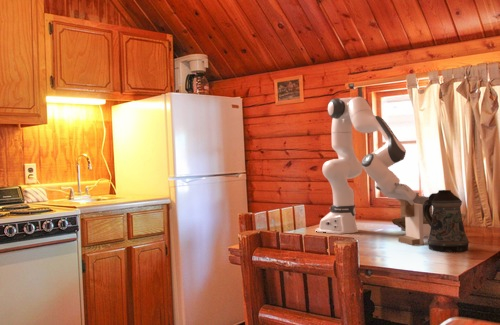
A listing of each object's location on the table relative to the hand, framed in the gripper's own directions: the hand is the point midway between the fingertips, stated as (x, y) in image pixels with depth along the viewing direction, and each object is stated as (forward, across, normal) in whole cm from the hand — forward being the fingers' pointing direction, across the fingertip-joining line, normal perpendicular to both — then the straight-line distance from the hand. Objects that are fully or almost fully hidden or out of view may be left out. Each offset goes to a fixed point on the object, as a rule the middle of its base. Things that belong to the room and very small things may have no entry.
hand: (408, 203), depth 229 cm
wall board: (+13, 0, +12) cm, 18 cm away
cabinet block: (+4, 0, +5) cm, 6 cm away
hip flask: (+31, +28, -4) cm, 42 cm away
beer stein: (+17, -17, +9) cm, 26 cm away
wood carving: (+28, +13, -2) cm, 31 cm away
